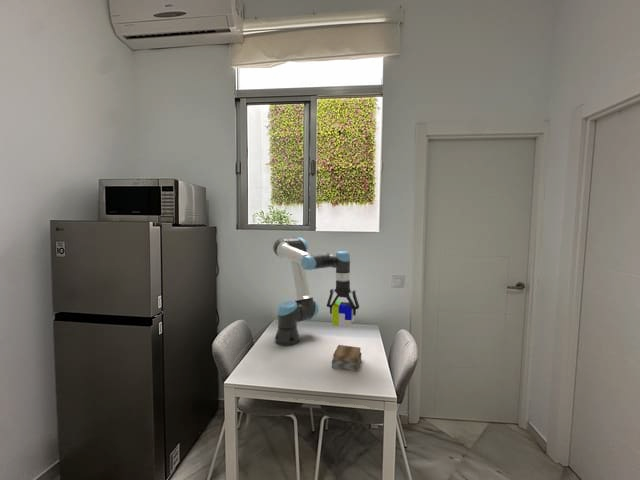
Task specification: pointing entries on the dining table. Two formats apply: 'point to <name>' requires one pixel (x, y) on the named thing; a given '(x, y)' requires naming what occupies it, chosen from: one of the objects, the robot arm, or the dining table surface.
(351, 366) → the plinth
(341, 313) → the puzzle toy
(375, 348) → the dining table surface
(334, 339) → the dining table surface
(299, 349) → the dining table surface
